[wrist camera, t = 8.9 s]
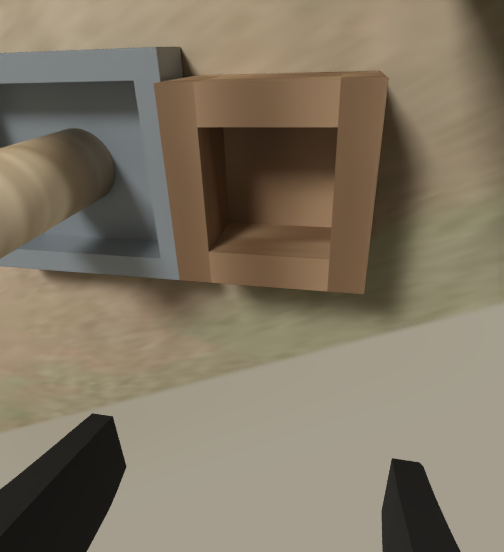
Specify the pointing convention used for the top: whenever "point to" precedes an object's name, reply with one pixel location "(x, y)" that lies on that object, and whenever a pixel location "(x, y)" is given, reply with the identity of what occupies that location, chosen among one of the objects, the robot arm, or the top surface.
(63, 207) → the dowel
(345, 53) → the top surface
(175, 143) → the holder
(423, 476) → the robot arm
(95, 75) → the tray
